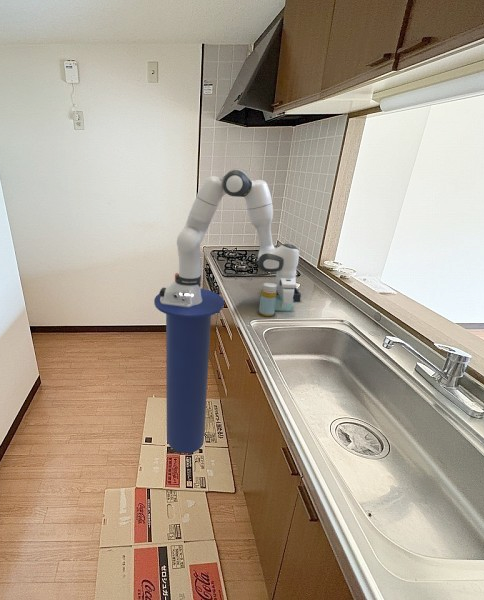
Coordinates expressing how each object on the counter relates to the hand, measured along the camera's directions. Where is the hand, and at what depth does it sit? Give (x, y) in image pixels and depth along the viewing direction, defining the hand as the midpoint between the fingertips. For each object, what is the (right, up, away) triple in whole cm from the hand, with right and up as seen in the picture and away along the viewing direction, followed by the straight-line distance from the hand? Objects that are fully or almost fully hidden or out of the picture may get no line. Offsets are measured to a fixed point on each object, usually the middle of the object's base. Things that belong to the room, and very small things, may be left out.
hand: (281, 304), depth 161 cm
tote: (+6, +5, +16) cm, 18 cm away
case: (0, -2, +1) cm, 2 cm away
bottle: (-9, -4, -4) cm, 11 cm away
